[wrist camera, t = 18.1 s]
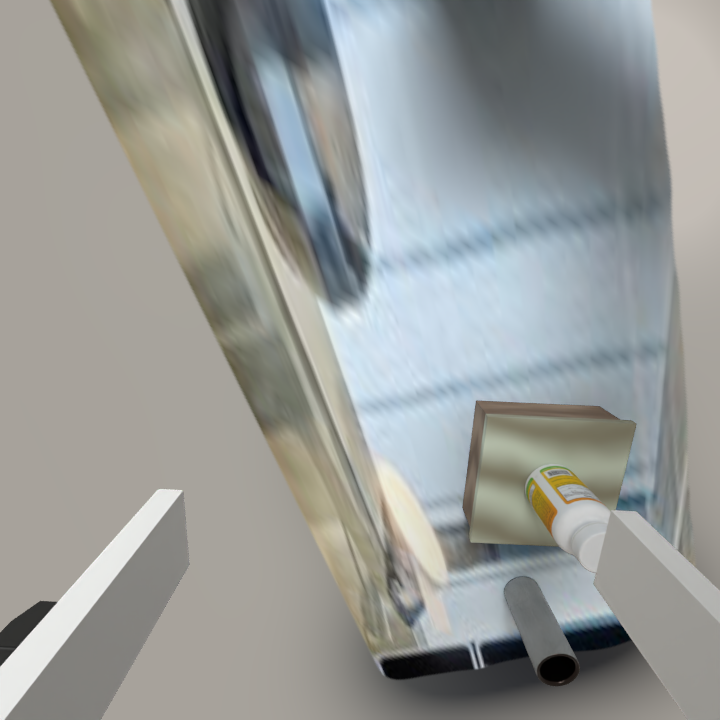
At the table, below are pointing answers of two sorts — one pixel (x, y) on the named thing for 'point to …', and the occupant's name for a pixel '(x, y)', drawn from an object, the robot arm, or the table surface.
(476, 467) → the podium
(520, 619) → the grey hollow cylinder
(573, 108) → the table surface
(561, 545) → the supplement bottle
